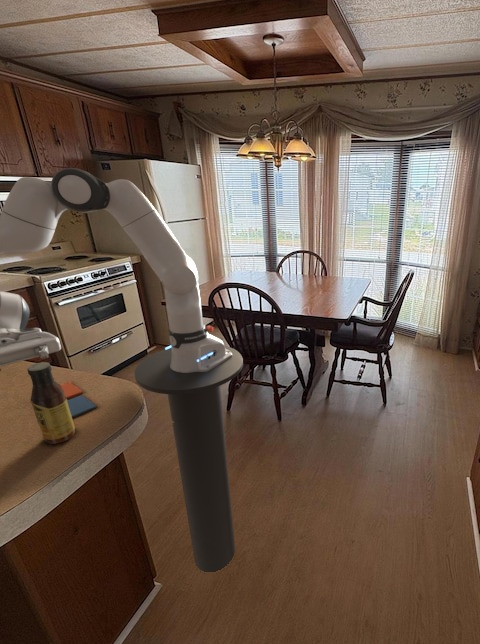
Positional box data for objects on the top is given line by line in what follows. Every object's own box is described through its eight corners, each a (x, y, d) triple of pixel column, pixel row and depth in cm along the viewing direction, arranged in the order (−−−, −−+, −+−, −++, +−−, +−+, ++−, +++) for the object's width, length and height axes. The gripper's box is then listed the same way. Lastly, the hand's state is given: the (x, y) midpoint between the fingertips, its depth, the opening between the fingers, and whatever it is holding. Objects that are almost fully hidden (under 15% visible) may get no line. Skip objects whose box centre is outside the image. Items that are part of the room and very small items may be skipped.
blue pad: (82, 396, 100) (81, 395, 100) (97, 407, 95) (96, 405, 95) (50, 409, 94) (49, 407, 93) (63, 421, 89) (63, 419, 89)
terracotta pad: (70, 383, 106) (69, 381, 106) (83, 393, 102) (82, 391, 101) (38, 394, 100) (38, 392, 100) (51, 405, 95) (50, 403, 95)
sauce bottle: (44, 435, 84) (19, 363, 76) (74, 425, 88) (54, 356, 80) (45, 450, 79) (19, 374, 72) (78, 439, 83) (56, 366, 75)
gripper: (-58, 348, 81) (-43, 365, 74) (45, 325, 97) (66, 338, 90) (-48, 372, 83) (-33, 390, 76) (51, 346, 99) (71, 359, 92)
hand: (21, 362), depth 83 cm, fingers open, 8 cm apart
